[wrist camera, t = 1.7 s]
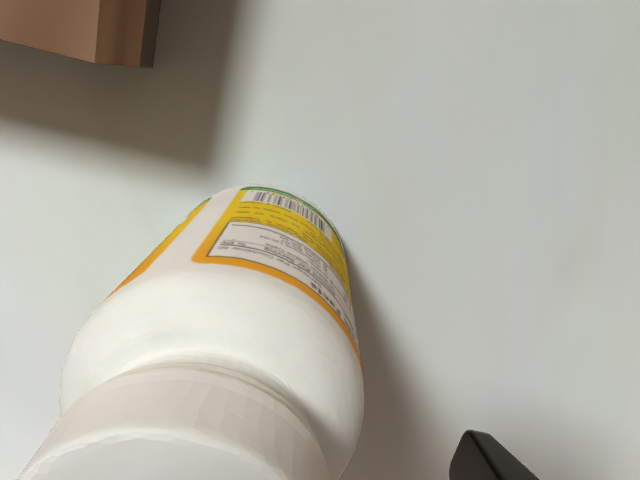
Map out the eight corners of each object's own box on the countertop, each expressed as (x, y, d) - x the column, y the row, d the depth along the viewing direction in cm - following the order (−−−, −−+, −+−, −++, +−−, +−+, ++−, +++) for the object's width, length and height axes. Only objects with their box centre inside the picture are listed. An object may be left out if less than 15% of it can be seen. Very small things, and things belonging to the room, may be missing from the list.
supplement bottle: (320, 160, 14) (330, 321, 4) (362, 317, 15) (432, 667, 6) (147, 207, 14) (-166, 442, 5) (207, 355, 16) (58, 735, 7)
